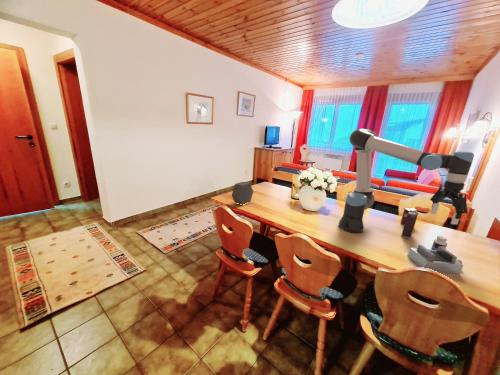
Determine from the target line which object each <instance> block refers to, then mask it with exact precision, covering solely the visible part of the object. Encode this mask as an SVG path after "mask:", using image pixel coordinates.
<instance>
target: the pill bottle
mask: <svg viewBox="0 0 500 375" xmlns="http://www.w3.org/2000/svg"><path fill="white" fill-rule="evenodd" d="M447 241H448V238H447V237H446V236H444V235H437V237H436V238H435V239H433V243H432V246H431V248H430V250H437V249H438V246H440V247H443V248H444V249H446V250H447V247H448V242H447Z"/></svg>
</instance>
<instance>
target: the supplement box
mask: <svg viewBox="0 0 500 375" xmlns="http://www.w3.org/2000/svg"><path fill="white" fill-rule="evenodd" d="M418 215H419V212H418V211H417V212H415V211H411V210H409V213H408V215H407V218H406V222H405V225H403V230H402V233H401V236H400V237H402V238H404V239H407V240H408V239H409V240H410V239H411V237H412V235H413V231H414V228H415V225H416V221H417V218H418Z"/></svg>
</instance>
